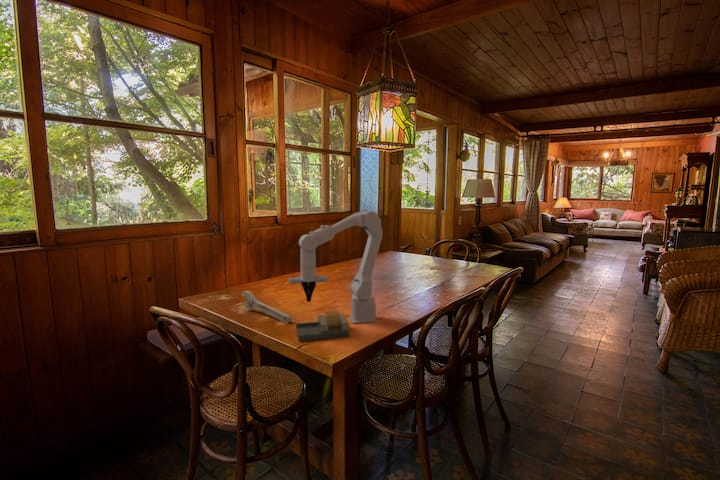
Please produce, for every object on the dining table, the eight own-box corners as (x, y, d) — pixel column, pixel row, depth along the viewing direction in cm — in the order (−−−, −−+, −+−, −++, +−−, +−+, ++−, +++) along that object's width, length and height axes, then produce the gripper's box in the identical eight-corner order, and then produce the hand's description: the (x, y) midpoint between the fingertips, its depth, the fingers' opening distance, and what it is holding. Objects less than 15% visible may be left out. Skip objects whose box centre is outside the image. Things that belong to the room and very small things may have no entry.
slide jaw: (324, 323, 141) (324, 314, 141) (328, 333, 132) (327, 324, 132) (317, 324, 141) (317, 315, 140) (321, 334, 131) (320, 324, 131)
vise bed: (343, 324, 144) (342, 312, 144) (349, 337, 133) (349, 323, 132) (296, 328, 140) (296, 315, 139) (298, 341, 129) (298, 328, 128)
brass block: (338, 326, 140) (338, 310, 139) (340, 330, 136) (340, 314, 135) (325, 327, 139) (325, 311, 138) (326, 331, 135) (326, 315, 134)
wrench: (287, 330, 146) (240, 307, 163) (291, 329, 147) (243, 306, 164) (289, 311, 144) (240, 289, 161) (292, 310, 146) (244, 288, 162)
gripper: (325, 263, 145) (325, 296, 147) (288, 265, 142) (288, 299, 144) (328, 267, 138) (328, 302, 140) (289, 269, 135) (289, 304, 137)
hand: (308, 301), depth 142 cm, fingers closed
